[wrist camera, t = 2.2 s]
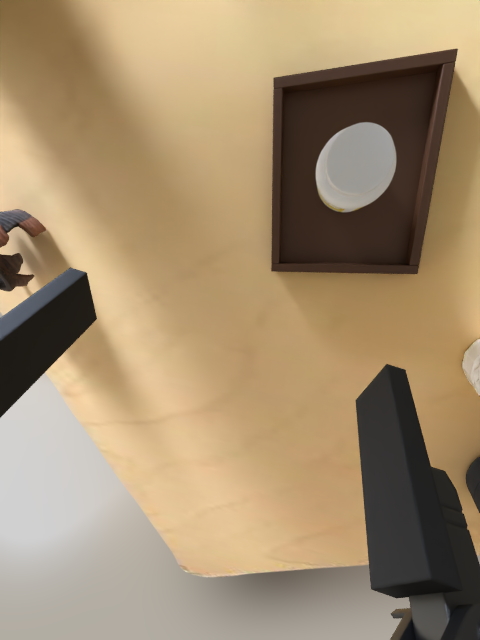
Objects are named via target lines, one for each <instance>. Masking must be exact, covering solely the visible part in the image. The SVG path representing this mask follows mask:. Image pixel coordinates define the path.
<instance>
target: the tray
mask: <svg viewBox="0 0 480 640" xmlns="http://www.w3.org/2000/svg"><path fill="white" fill-rule="evenodd" d="M457 50H458V49H451V50H445V51H439V52H433V53H426V54H420V55H414V56H408V57H401V58H395V59H389V60H383V61H376V62H370V63H364V64H357V65H351V66H345V67H339V68H332V69H326V70H320V71H314V72H307V73H301V74H295V75H289V76H282V77H276V78H274V95H273V183H272V268H271V271H276V272H330V273H383V274H418V268H419V266H418V265H419V262H420V257H421V251H422V245H423V240H424V234H425V229H426V223H427V217H428V212H429V206H430V201H431V195H432V190H433V184H434V178H435V173H436V167H437V162H438V156H439V150H440V145H441V139H442V134H443V128H444V123H445V117H446V111H447V106H448V100H449V95H450V89H451V83H452V78H453V72H454V67H455V61H456V56H457ZM364 122H369V123H375V124H378V125H380V126H382V127H383V128H384V129H386V130H387V131H388V133H389V134H390V135H391V137H392V140H393V142H394V146H395V150H396V169H395V173H394V176H393V178H392V180H391V182H390V184H389V186H388V187H387V189H386V190H385V191H384V192H383V193H382V195H381V196H379V197H378V198H377V199H376V200H375V201H373V202H372V203H370V204H368V205H366V206H364V207H362V208H360V209H358V210H355V211H351V212H337V211H334V210H332V209H330V208H329V207H327V206H326V205H325V204H324V203H323V202H322V200H321V198H320V196H319V193H318V189H317V183H316V165H317V161H318V158H319V155H320V153H321V151H322V149H323V148H324V146H325V145H326V143H327V142H328V141H329V140H330V139H331V138H332V137H333V136H334V135H335V134H336V133H338V132H339V131H341V130H343V129H345V128H347V127H350V126H352V125H355V124H358V123H364Z"/></svg>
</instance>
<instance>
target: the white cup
mask: <svg viewBox="0 0 480 640" xmlns="http://www.w3.org/2000/svg"><path fill="white" fill-rule="evenodd" d="M462 368H463V370H464V373H465V376H466V378H467V380H468V381H469V382H470V383H471V385H472V386H473V387H474V388H475V390H476V392H477V393H478V395H479V396H480V339H478V340H476V341H475V342H474V343H473V344H472V345H471V346H470V347H469V348H468V350H467V351H466V352H465V354H464V359H463V363H462Z"/></svg>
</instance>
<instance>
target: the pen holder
mask: <svg viewBox="0 0 480 640" xmlns="http://www.w3.org/2000/svg"><path fill="white" fill-rule="evenodd" d="M466 483H467V487H468V489H469V491H470V493H471V496H472V498H473V500H474V502H475V504H476V506H477V508H478V511H479V513H480V457H479V458H477V459H476V460H475V461H474V462H473V463H472V464H471V466H470V467H469V469H468V471H467V475H466Z"/></svg>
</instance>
